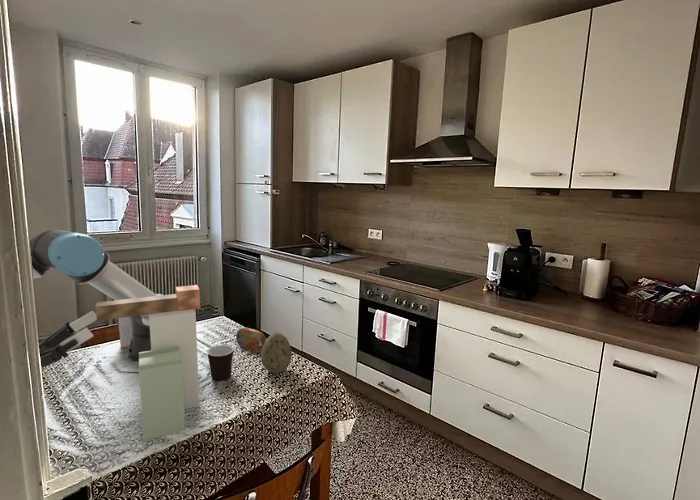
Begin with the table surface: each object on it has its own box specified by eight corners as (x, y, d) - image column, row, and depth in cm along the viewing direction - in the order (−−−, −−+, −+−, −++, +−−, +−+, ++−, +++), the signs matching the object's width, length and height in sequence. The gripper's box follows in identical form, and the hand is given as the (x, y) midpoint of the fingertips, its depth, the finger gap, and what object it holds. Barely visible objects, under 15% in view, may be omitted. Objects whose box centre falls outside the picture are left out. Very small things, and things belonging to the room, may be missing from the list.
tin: (235, 345, 158) (235, 326, 157) (241, 343, 161) (241, 324, 160) (262, 355, 151) (261, 335, 149) (267, 352, 153) (267, 332, 152)
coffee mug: (226, 384, 128) (225, 357, 126) (203, 381, 130) (202, 354, 128) (242, 368, 139) (242, 343, 138) (221, 365, 141) (220, 340, 139)
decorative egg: (284, 381, 132) (284, 340, 129) (256, 376, 134) (255, 336, 132) (295, 366, 142) (296, 329, 140) (269, 362, 145) (268, 325, 142)
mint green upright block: (143, 440, 100) (138, 366, 96) (143, 421, 108) (138, 352, 104) (184, 430, 105) (181, 359, 101) (181, 412, 113) (178, 346, 109)
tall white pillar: (155, 415, 111) (149, 317, 105) (154, 398, 119) (148, 306, 114) (199, 405, 116) (195, 312, 111) (195, 389, 125) (191, 302, 119)
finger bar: (96, 321, 101) (94, 300, 100) (97, 315, 105) (96, 294, 104) (200, 308, 114) (199, 289, 113) (197, 303, 118) (196, 284, 117)
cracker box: (135, 334, 166) (132, 288, 162) (149, 334, 166) (147, 288, 163) (119, 348, 152) (115, 298, 148) (134, 348, 153) (131, 298, 149)
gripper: (33, 362, 108) (106, 317, 115) (6, 409, 87) (97, 351, 94) (13, 343, 105) (89, 298, 112) (-21, 387, 84) (76, 328, 91)
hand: (93, 322), depth 103 cm, fingers open, 13 cm apart
